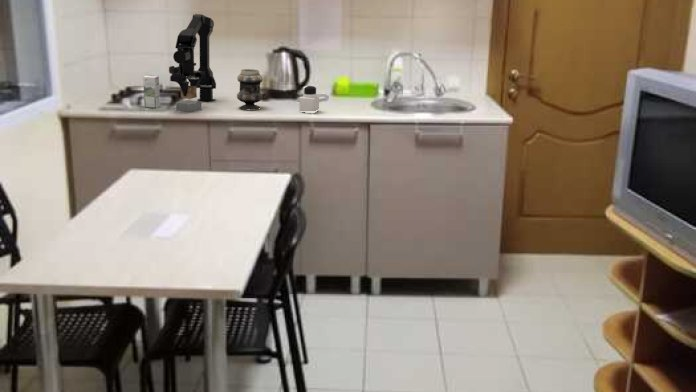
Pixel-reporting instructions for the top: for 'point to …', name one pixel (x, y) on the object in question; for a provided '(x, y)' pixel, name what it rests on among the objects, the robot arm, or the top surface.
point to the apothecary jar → (249, 88)
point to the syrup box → (151, 91)
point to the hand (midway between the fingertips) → (188, 95)
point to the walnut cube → (190, 92)
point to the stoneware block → (188, 106)
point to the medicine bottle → (309, 99)
